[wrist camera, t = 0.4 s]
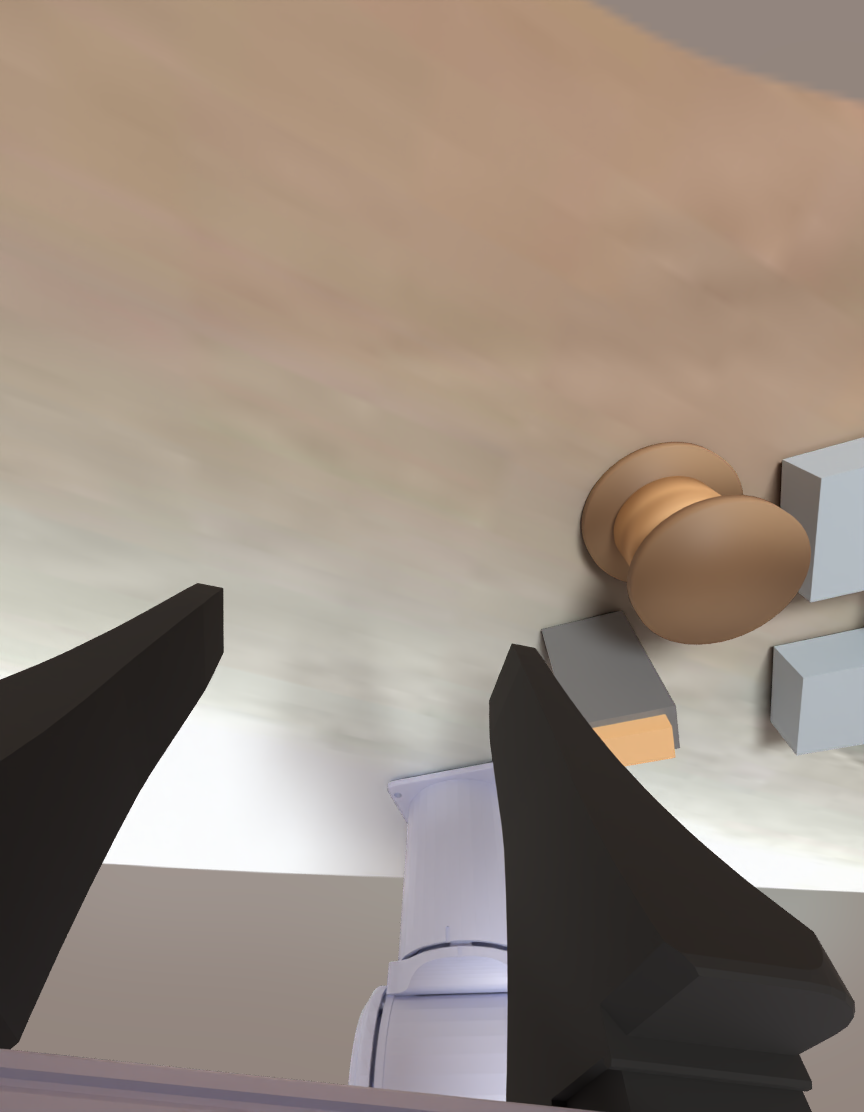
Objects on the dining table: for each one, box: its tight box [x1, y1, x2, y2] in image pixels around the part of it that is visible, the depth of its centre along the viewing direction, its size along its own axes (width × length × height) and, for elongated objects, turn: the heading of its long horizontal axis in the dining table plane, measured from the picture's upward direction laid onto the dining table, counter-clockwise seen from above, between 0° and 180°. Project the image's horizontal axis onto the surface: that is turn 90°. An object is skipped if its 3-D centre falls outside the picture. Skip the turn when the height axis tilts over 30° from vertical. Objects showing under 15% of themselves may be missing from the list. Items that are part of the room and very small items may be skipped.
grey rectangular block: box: [541, 611, 680, 766], centre depth 20 cm, size 2×4×7 cm, turn 108°
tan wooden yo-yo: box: [581, 442, 811, 645], centre depth 18 cm, size 6×6×5 cm
